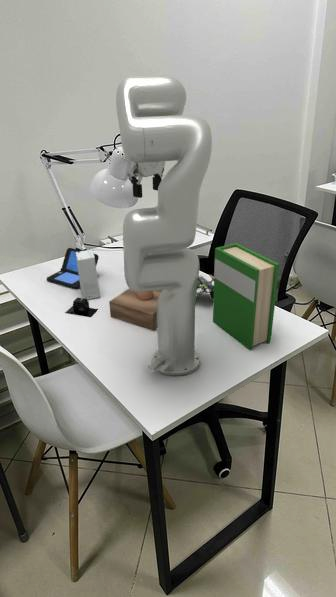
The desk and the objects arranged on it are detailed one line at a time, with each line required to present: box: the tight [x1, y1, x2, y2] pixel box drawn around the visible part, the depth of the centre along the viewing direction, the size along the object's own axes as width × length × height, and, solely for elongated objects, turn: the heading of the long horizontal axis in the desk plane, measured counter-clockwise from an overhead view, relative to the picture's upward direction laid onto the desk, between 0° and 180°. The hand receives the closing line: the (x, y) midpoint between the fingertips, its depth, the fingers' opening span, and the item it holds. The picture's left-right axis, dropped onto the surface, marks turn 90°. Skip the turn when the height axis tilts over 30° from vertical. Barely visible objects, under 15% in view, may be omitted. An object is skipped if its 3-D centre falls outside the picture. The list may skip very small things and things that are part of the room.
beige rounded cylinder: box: [136, 291, 153, 300], centre depth 133 cm, size 5×5×6 cm
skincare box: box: [76, 249, 101, 300], centre depth 146 cm, size 8×6×15 cm
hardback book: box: [212, 242, 280, 352], centre depth 120 cm, size 18×7×24 cm, turn 29°
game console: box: [46, 247, 100, 290], centre depth 159 cm, size 16×14×9 cm
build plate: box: [64, 297, 99, 318], centre depth 138 cm, size 12×7×5 cm, turn 71°
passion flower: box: [195, 273, 214, 301], centre depth 141 cm, size 11×11×12 cm
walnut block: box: [108, 288, 162, 332], centre depth 136 cm, size 16×16×6 cm
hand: (147, 193), depth 133 cm, fingers open, 9 cm apart
